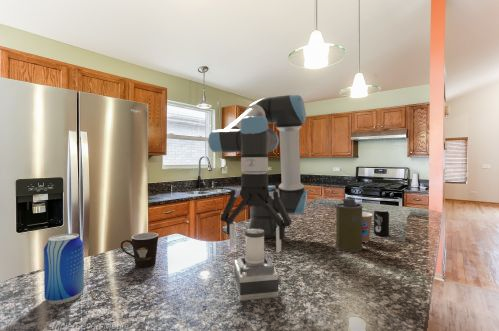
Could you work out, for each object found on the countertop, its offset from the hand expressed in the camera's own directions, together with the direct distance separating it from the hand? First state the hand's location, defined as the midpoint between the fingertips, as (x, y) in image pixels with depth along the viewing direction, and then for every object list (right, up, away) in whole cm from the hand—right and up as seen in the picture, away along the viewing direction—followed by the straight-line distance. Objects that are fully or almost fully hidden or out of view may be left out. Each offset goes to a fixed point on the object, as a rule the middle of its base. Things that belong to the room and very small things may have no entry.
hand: (255, 248), depth 75 cm
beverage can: (+61, -10, +53) cm, 82 cm away
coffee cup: (+48, -10, +44) cm, 66 cm away
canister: (+39, -11, +34) cm, 53 cm away
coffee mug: (-39, -11, +17) cm, 44 cm away
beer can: (-50, -12, -5) cm, 52 cm away
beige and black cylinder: (0, -5, 0) cm, 5 cm away
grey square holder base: (0, -11, 0) cm, 11 cm away
